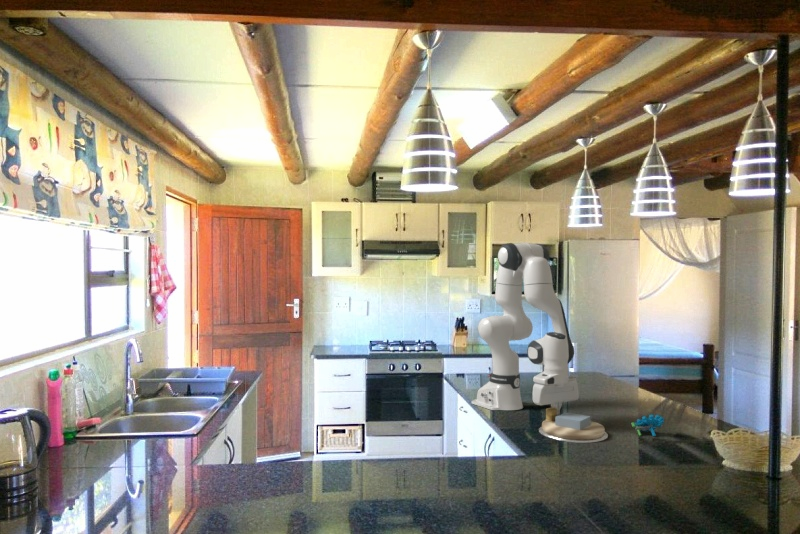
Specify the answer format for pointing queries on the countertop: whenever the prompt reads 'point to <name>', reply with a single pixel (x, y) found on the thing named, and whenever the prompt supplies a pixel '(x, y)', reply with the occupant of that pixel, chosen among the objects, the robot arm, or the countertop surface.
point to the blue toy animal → (648, 424)
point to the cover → (573, 421)
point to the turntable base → (573, 439)
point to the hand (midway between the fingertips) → (556, 414)
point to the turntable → (563, 432)
